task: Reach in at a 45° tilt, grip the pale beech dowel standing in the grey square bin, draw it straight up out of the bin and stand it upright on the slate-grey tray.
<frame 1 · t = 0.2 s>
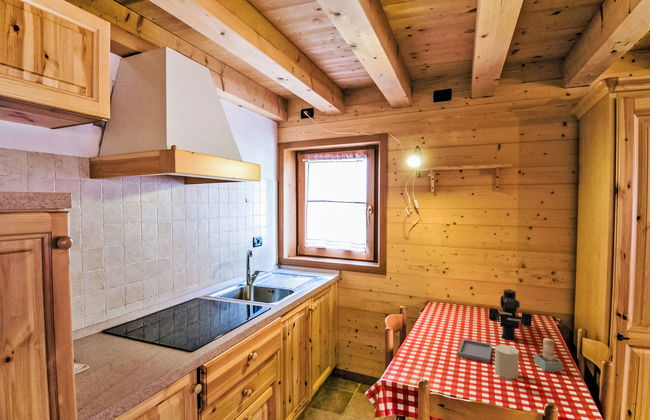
hand: (510, 322, 159), 17 cm above the table, tool horizontal, fingers open, 9 cm apart
grey square bin: (548, 369, 148), on the table
can: (506, 376, 143), on the table
tray: (475, 352, 165), on the table
dowel: (548, 366, 148), point 1 cm above the table, touching grey square bin
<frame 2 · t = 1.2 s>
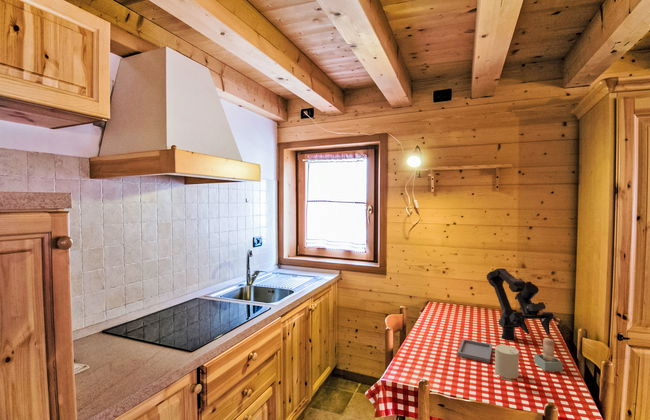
hand: (538, 334, 155), 13 cm above the table, tool tilted 45°, fingers open, 9 cm apart
nothing on the table moved.
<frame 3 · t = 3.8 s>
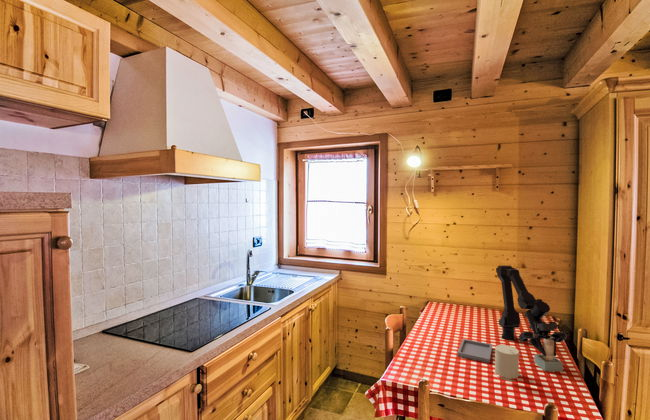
hand: (550, 356, 147), 7 cm above the table, tool tilted 45°, fingers closed on dowel, 4 cm apart
dowel: (548, 366, 148), point 1 cm above the table, touching grey square bin, gripper
everything else where it was.
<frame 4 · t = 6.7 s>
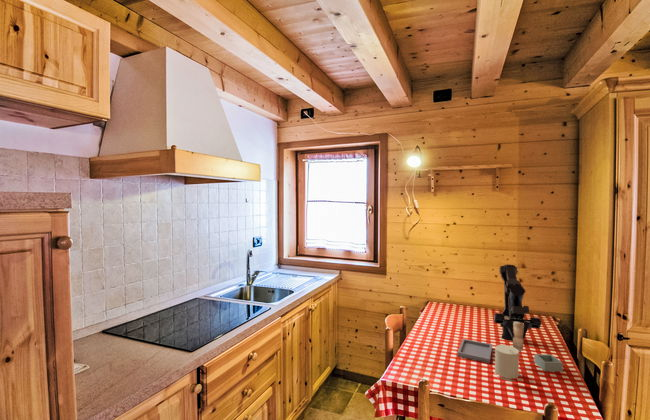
hand: (518, 338, 149), 14 cm above the table, tool tilted 45°, fingers closed on dowel, 4 cm apart
dowel: (517, 349, 151), point 8 cm above the table, touching gripper
everything else where it was.
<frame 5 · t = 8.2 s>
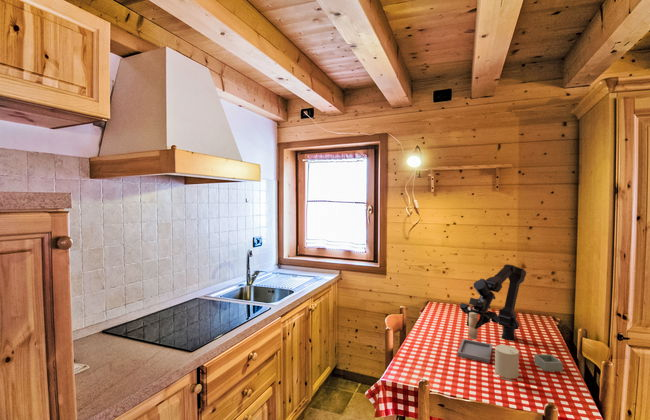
hand: (471, 327, 162), 13 cm above the table, tool tilted 45°, fingers closed on dowel, 4 cm apart
dowel: (473, 337, 163), point 8 cm above the table, touching gripper
everything else where it was.
when the fingers open (8 cm above the table, at t = 9.6 s): dowel drops 1 cm, resting on tray.
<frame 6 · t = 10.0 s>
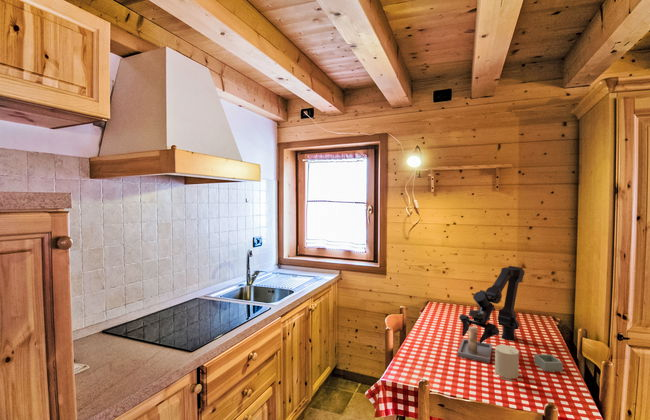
hand: (471, 338, 163), 8 cm above the table, tool tilted 45°, fingers open, 9 cm apart
dowel: (472, 352, 164), point 1 cm above the table, touching tray
everything else where it was.
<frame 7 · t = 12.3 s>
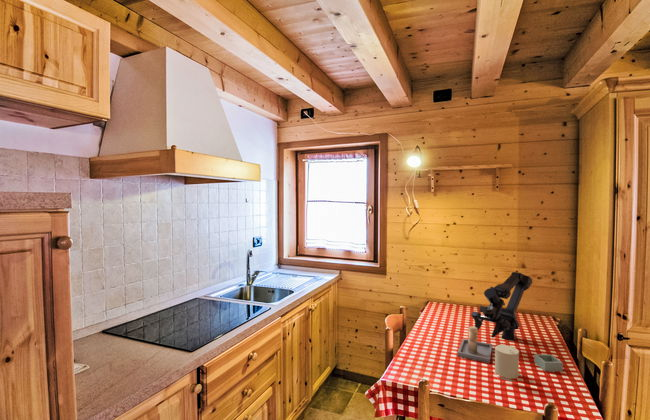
hand: (483, 334, 167), 8 cm above the table, tool tilted 40°, fingers open, 9 cm apart
nothing on the table moved.
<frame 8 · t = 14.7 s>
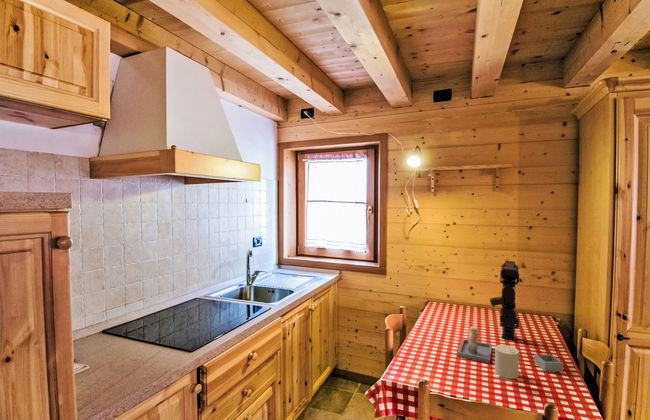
hand: (508, 323, 168), 13 cm above the table, tool pointing down, fingers open, 9 cm apart
nothing on the table moved.
at the end: dowel inside the target area on the tray (2.2 cm from its centre), point 0.7 cm above the tray's base; dowel tilted 4°; the gripper is holding nothing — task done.
